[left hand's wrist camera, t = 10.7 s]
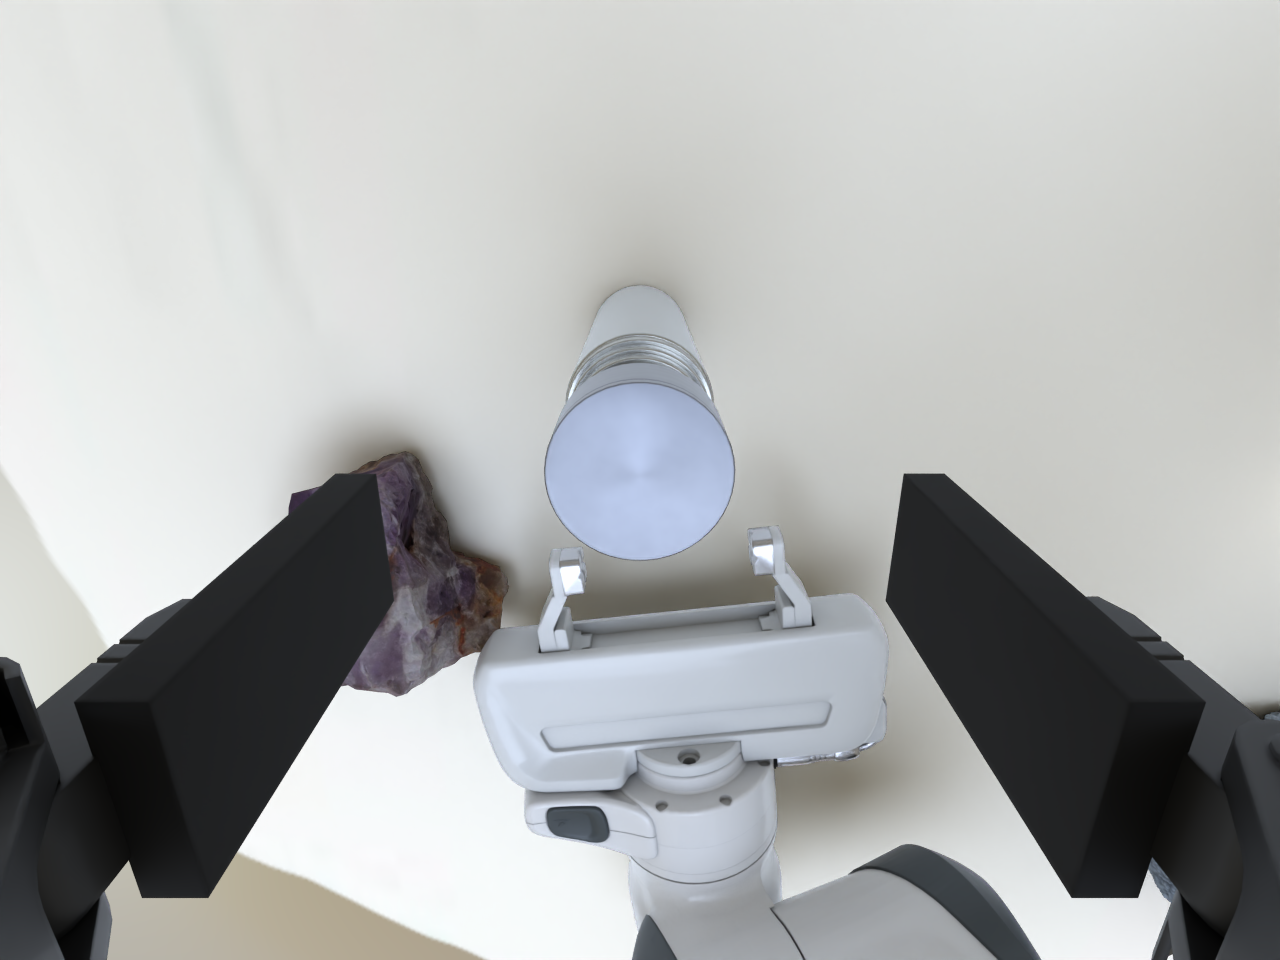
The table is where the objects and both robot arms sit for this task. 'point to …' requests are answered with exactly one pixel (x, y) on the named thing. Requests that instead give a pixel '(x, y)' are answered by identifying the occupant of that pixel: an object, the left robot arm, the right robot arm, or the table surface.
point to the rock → (422, 587)
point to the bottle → (639, 337)
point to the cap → (639, 463)
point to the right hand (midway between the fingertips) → (664, 542)
